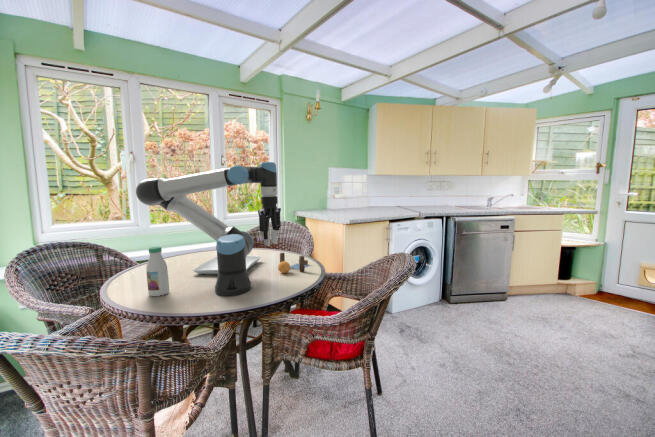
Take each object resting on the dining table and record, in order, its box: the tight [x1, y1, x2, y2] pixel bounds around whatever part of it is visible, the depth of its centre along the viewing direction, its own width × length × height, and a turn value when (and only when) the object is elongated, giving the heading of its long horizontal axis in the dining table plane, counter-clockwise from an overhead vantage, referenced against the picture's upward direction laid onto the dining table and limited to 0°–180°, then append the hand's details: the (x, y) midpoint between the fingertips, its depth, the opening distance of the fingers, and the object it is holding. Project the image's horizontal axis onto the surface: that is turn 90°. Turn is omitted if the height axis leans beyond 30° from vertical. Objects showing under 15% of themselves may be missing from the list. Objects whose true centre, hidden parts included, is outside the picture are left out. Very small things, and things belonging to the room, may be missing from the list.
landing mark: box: [290, 262, 309, 271], centre depth 160 cm, size 8×8×1 cm
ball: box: [277, 261, 291, 274], centre depth 149 cm, size 6×6×6 cm
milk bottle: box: [145, 246, 170, 297], centre depth 123 cm, size 8×8×20 cm
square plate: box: [192, 255, 262, 275], centre depth 158 cm, size 27×27×4 cm
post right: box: [298, 255, 306, 273], centre depth 151 cm, size 3×3×8 cm
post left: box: [279, 252, 286, 264], centre depth 158 cm, size 3×3×8 cm
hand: (271, 244), depth 139 cm, fingers open, 4 cm apart
